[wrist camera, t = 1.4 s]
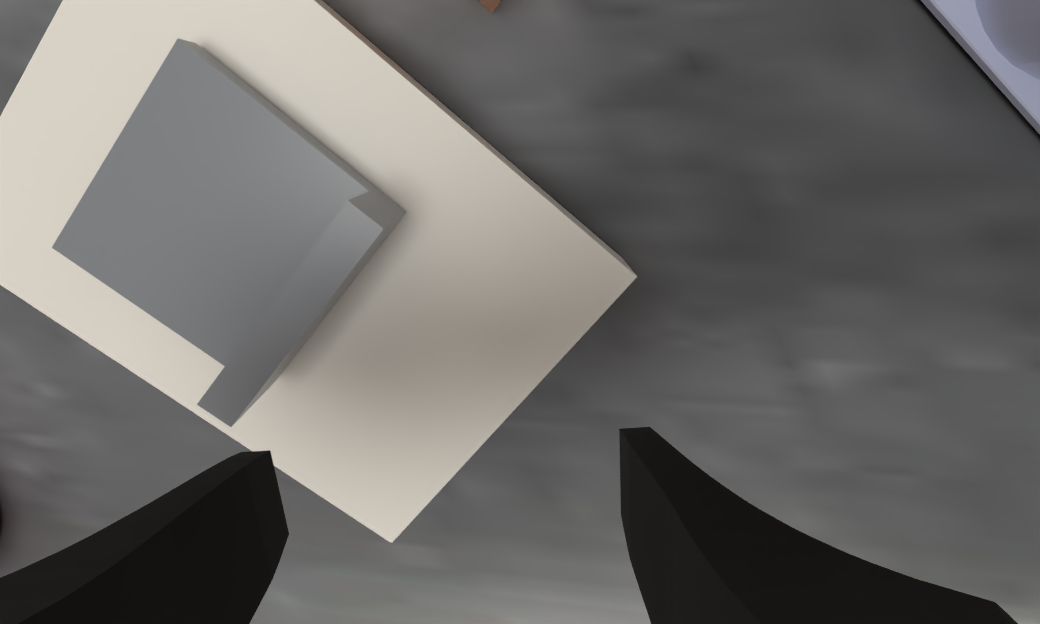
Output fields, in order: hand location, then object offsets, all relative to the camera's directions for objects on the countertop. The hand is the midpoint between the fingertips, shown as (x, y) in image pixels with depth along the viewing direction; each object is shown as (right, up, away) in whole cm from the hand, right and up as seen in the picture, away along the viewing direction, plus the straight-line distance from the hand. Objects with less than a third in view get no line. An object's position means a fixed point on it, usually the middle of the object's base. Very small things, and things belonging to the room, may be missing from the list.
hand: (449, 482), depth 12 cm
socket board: (-5, +6, +7) cm, 10 cm away
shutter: (-6, +6, +4) cm, 10 cm away
